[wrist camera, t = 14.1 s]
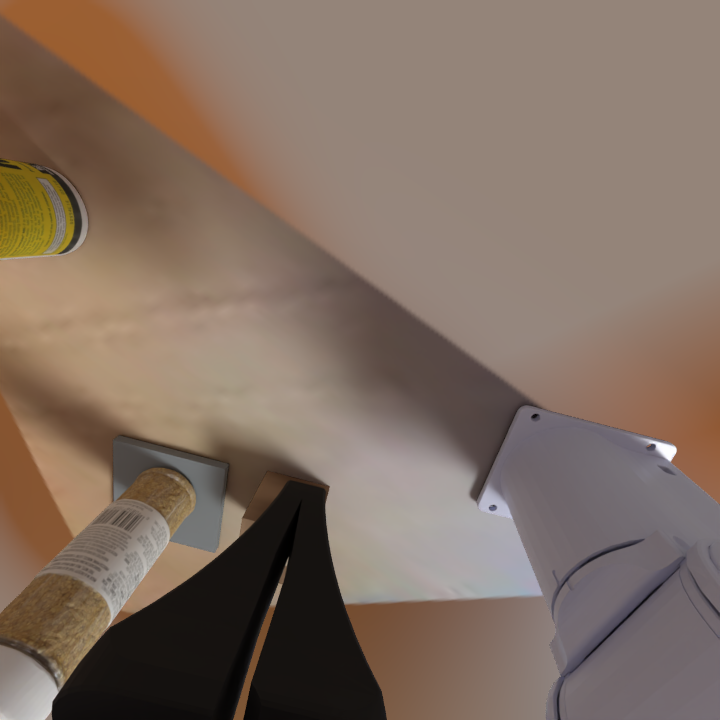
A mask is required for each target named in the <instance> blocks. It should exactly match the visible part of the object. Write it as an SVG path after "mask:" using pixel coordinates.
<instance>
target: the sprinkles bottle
mask: <svg viewBox="0 0 720 720" xmlns="http://www.w3.org/2000/svg"><path fill="white" fill-rule="evenodd" d="M195 504H196V494H195V490H194V488H193V486H192V485H191V484H190V483H189V481H188V480H187V479H186V478H185V477H183V476H182V475H181V474H180V473H178V472H176V471H174V470H170V469H166V468H151V469H148V470H146V471H144V472H142V473H141V474H140V475H139V476H138V477H137V478H136V480H135V482H134V483H133V484H132V485H131V486H130V487H129V488H128V489H127V490H126V491H125V492H124V493H123V494H122V495H121V496H120V497H119V498H118V499H117V500H116V501H115V502H113V503H111V504H110V505H109V506H108V507H107V508H106V509H105V510H103V511H102V512H101V513H100V514H99V515H98V516H97V517H96V518H95V519H94V520H93V521H92V522H91V523H90V524H89V525H88V526H87V527H86V528H85V529H84V530H83V531H82V532H81V533H80V534H79V535H77V536H76V537H75V538H74V539H73V540H72V541H71V542H70V543H69V544H68V545H67V546H66V547H65V548H64V549H63V550H62V551H61V552H60V553H59V554H58V555H57V556H56V557H55V558H54V559H53V560H52V561H51V562H50V563H49V564H47V565H46V567H44V568H43V569H42V570H41V571H40V572H39V573H38V574H37V575H36V577H35V578H34V580H33V581H32V582H31V583H30V585H28V587H26V588H25V589H24V590H23V592H22V593H21V594H20V595H19V596H18V597H17V598H15V599H14V600H13V601H12V602H11V603H10V604H9V605H8V606H7V607H6V608H5V609H4V610H3V611H2V612H1V614H0V720H45V719H46V717H47V716H48V715H49V713H50V712H51V711H52V702H53V700H54V699H55V697H56V696H57V694H58V693H59V691H60V690H61V688H62V687H63V685H64V684H65V683H66V681H67V680H68V678H69V677H70V675H71V674H72V672H73V671H74V669H75V668H76V667H77V665H78V664H79V662H80V661H81V660H82V659H83V657H84V656H85V655H86V654H87V653H88V652H89V650H90V649H91V648H92V647H93V645H94V644H95V643H96V641H97V640H98V638H99V637H100V635H101V634H102V632H103V631H104V630H105V629H106V628H107V627H108V626H109V625H110V624H111V622H112V621H113V619H114V618H115V617H116V615H117V614H118V612H119V611H120V610H121V608H122V607H123V606H124V604H125V603H126V601H127V600H128V599H129V597H130V596H131V594H132V593H133V592H134V590H135V589H136V587H137V586H138V585H139V583H140V582H141V581H142V579H143V578H144V576H145V575H146V574H147V572H148V571H149V570H150V568H151V567H152V565H153V564H154V563H155V561H156V560H157V558H158V557H159V556H160V554H161V553H162V552H163V550H164V549H165V547H166V546H167V544H168V542H169V540H170V539H171V537H172V536H173V534H174V533H175V532H176V530H177V529H178V527H179V526H180V525H181V523H182V522H183V521H184V519H185V518H186V517H187V516H188V515H189V514H190V513H191V512H192V511H193V510H194V508H195Z"/></svg>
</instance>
